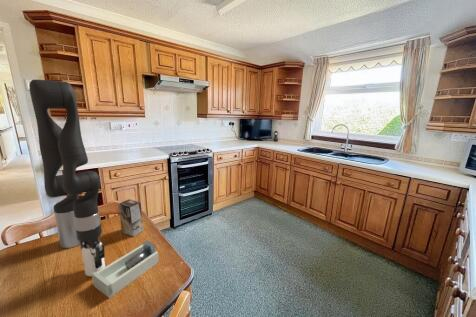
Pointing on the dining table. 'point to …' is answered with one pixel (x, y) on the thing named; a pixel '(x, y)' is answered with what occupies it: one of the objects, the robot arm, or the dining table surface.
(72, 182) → the robot arm
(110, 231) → the dining table surface
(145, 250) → the shaft
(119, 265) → the cradle
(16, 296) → the dining table surface
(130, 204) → the coffee box
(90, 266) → the can
